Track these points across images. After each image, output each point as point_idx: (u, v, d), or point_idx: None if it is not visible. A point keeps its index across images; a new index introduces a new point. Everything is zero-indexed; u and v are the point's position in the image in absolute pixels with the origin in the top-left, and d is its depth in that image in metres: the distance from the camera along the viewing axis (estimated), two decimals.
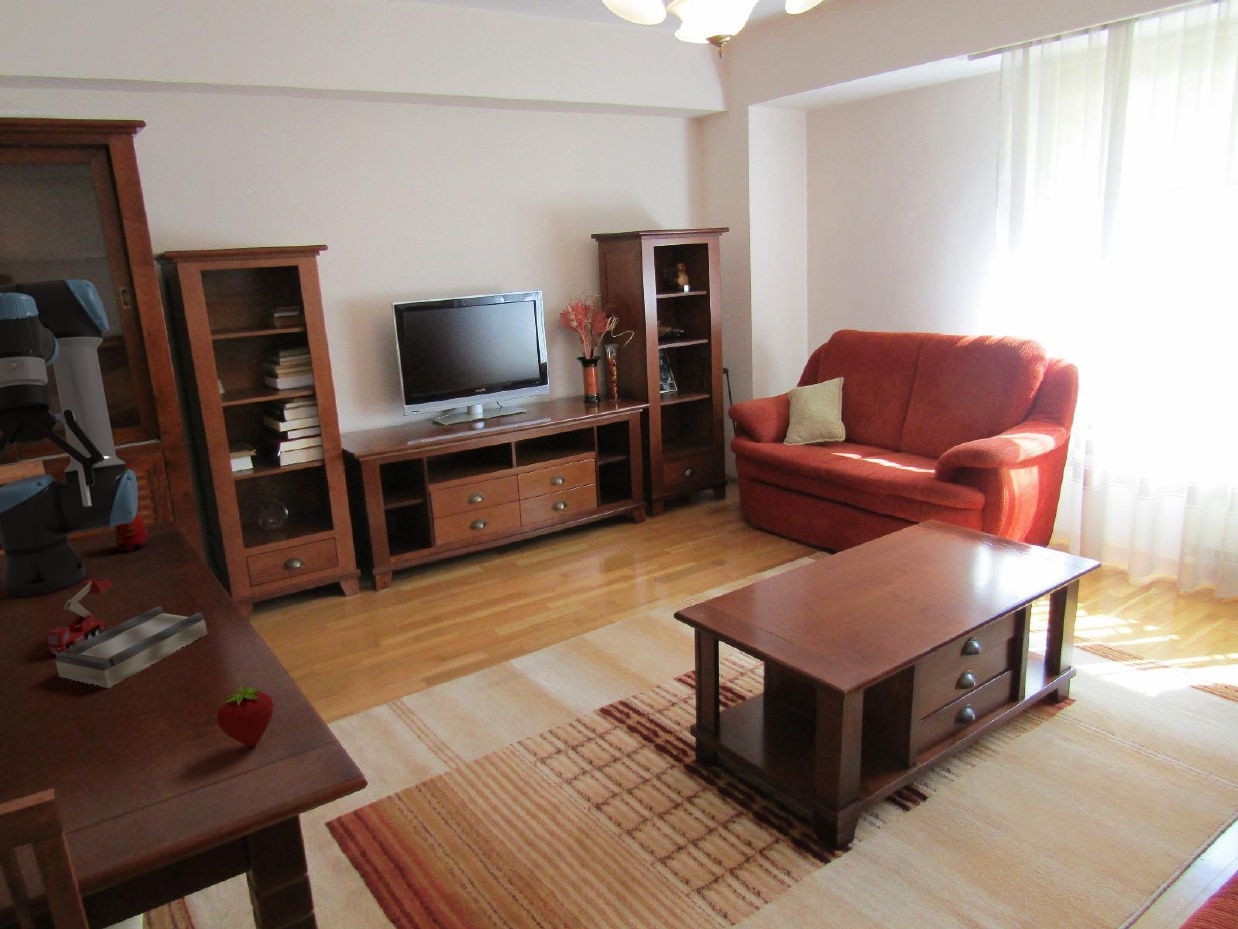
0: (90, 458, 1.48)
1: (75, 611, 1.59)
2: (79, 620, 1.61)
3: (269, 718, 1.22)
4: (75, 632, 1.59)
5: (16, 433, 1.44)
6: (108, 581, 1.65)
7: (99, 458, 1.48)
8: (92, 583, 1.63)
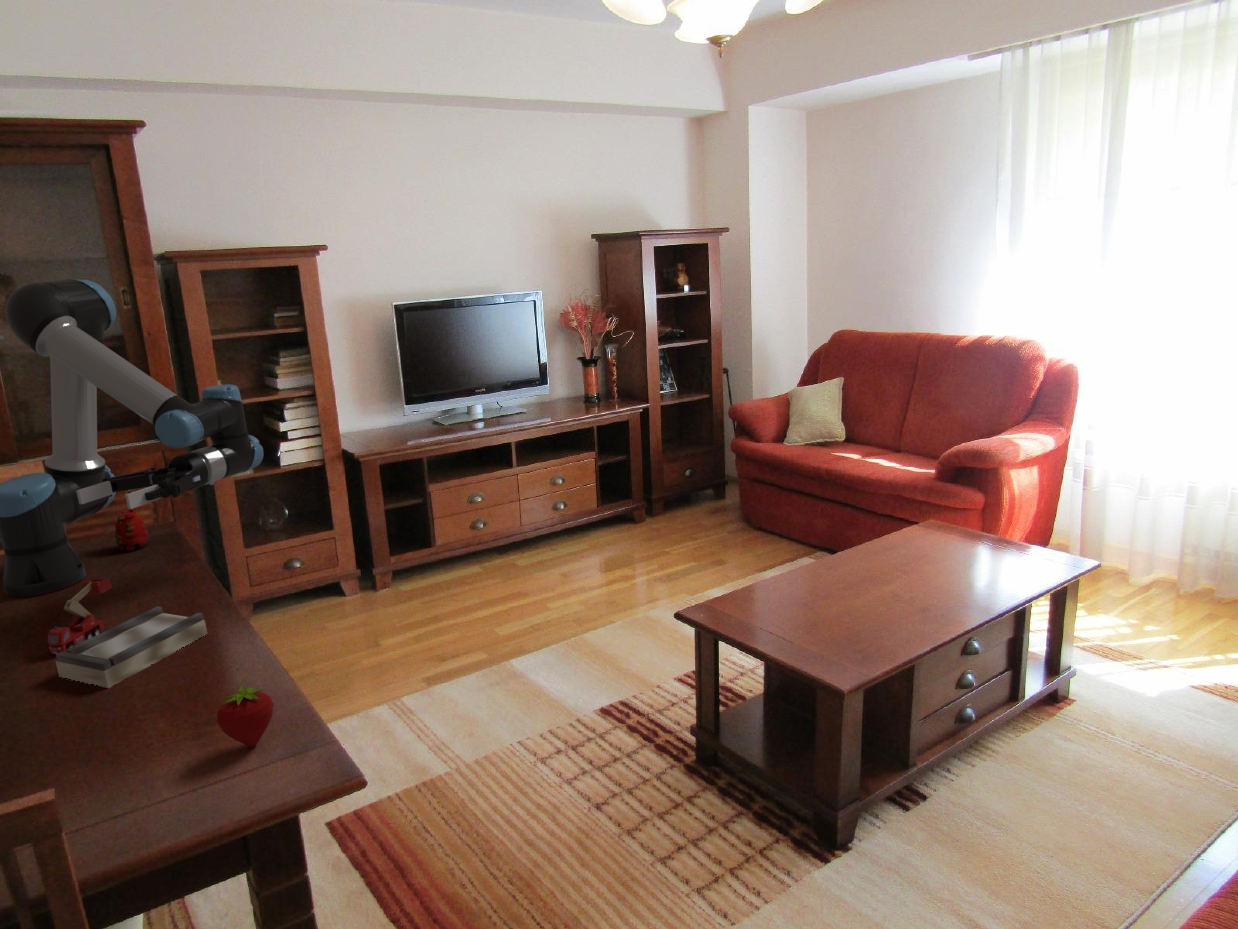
0: None
1: (75, 611, 1.59)
2: (79, 620, 1.61)
3: (269, 718, 1.22)
4: (75, 632, 1.59)
5: None
6: (108, 581, 1.65)
7: None
8: (92, 583, 1.63)
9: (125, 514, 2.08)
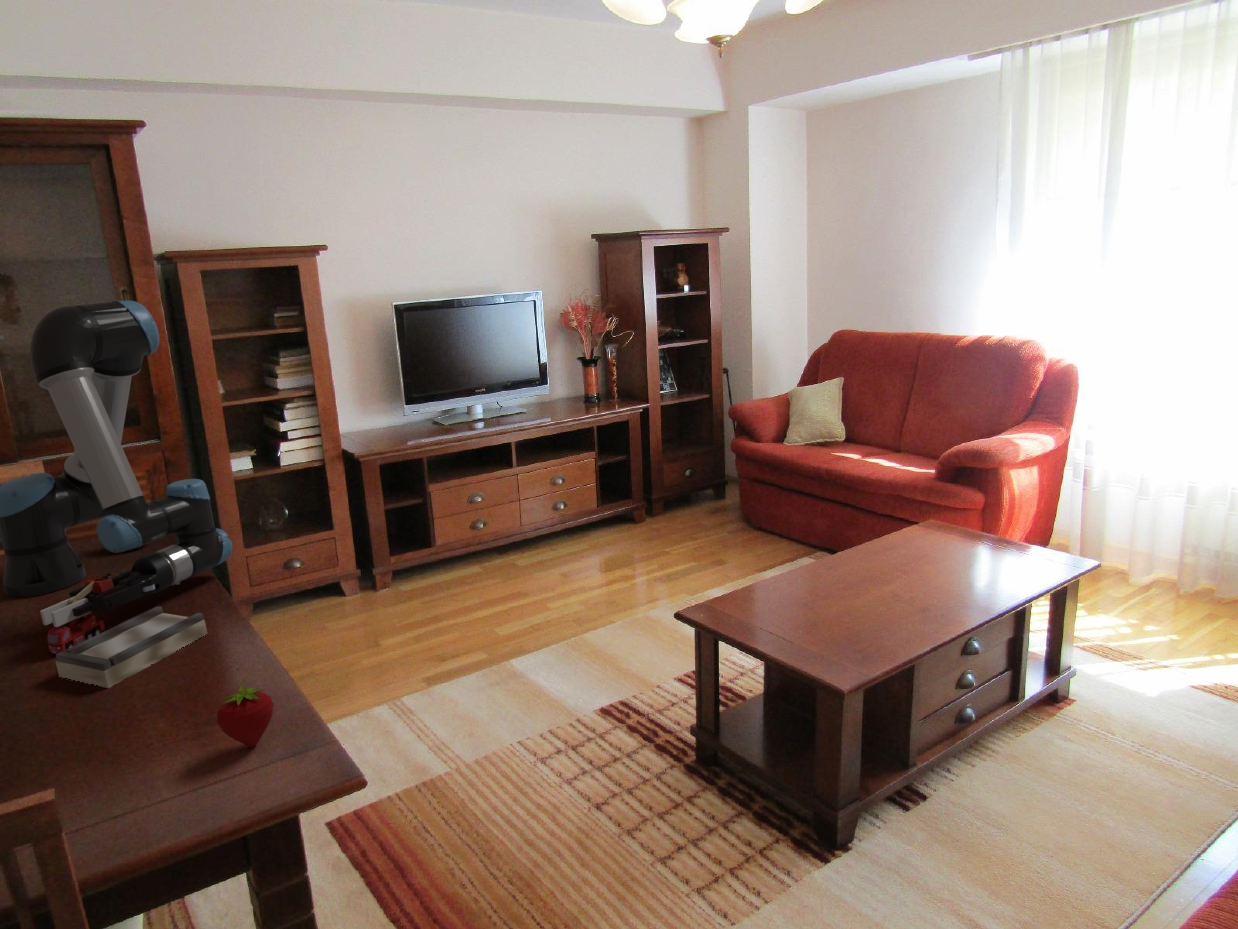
0: None
1: None
2: (80, 619, 1.61)
3: (269, 718, 1.22)
4: (75, 631, 1.59)
5: None
6: (110, 581, 1.65)
7: None
8: (94, 583, 1.63)
9: None
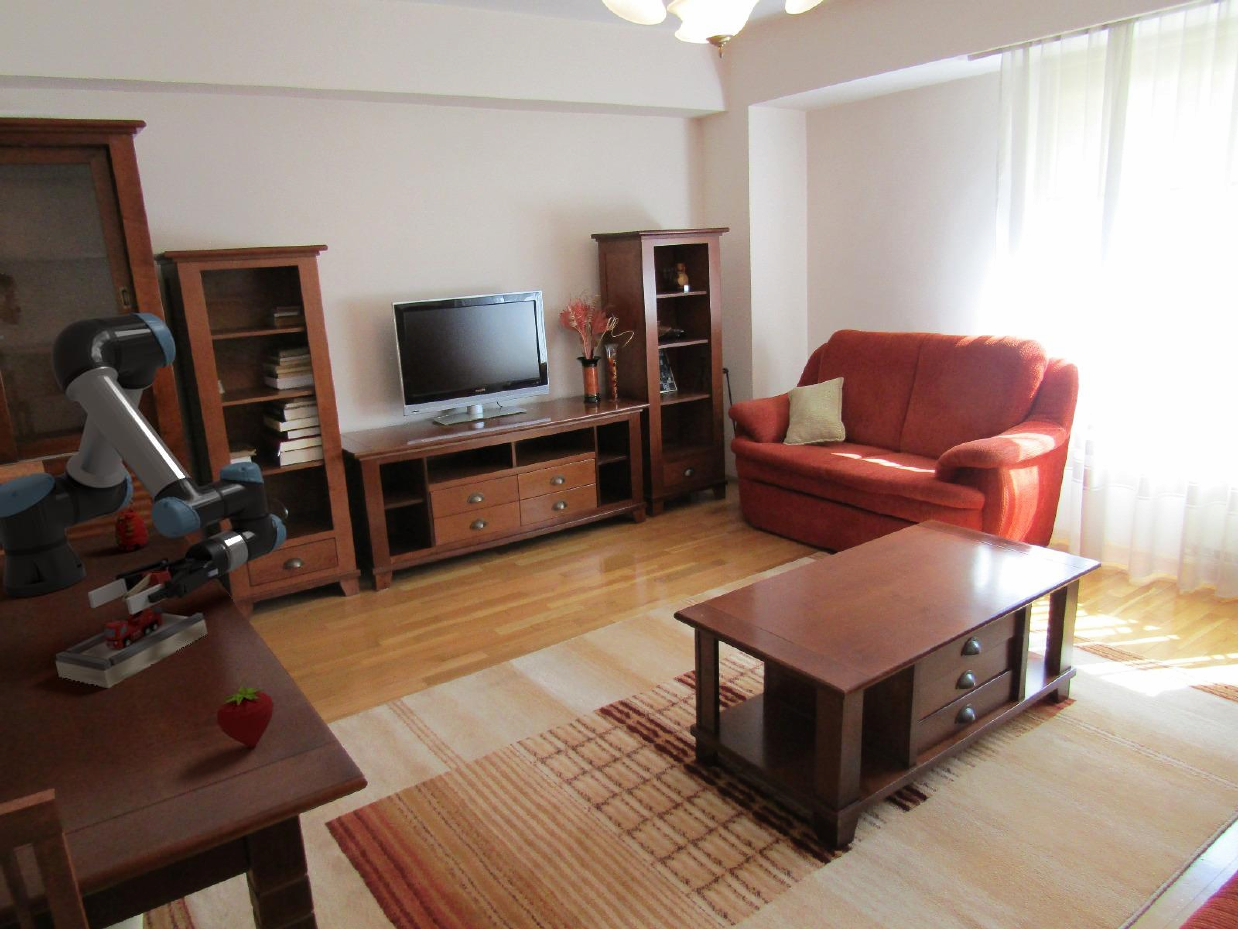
0: None
1: None
2: (137, 613, 1.54)
3: (269, 718, 1.22)
4: (133, 626, 1.52)
5: None
6: (168, 573, 1.58)
7: None
8: (151, 575, 1.56)
9: (125, 514, 2.08)
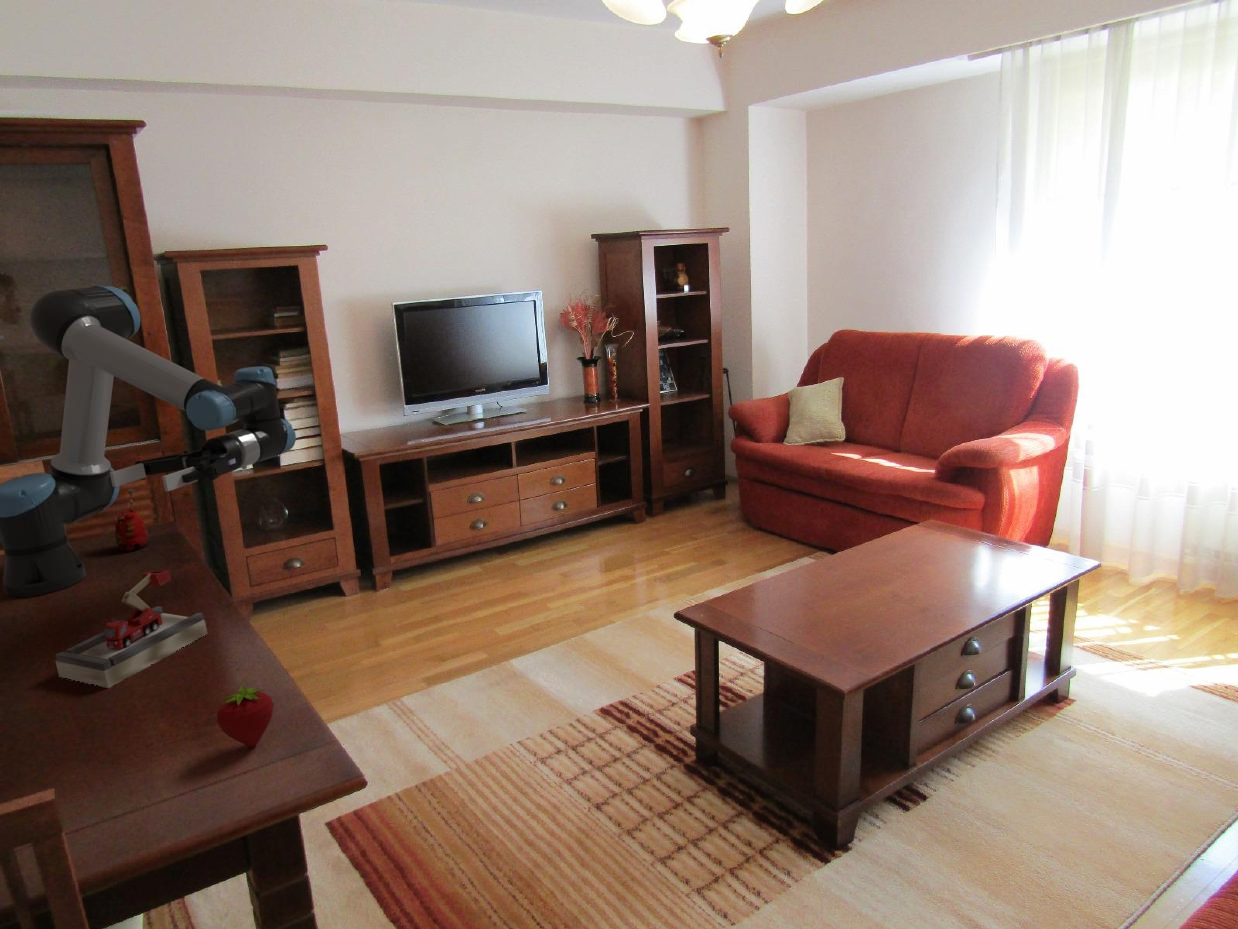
0: None
1: (133, 604, 1.52)
2: (137, 613, 1.54)
3: (269, 718, 1.22)
4: (133, 626, 1.52)
5: None
6: (167, 573, 1.58)
7: None
8: (151, 575, 1.56)
9: (125, 514, 2.08)
